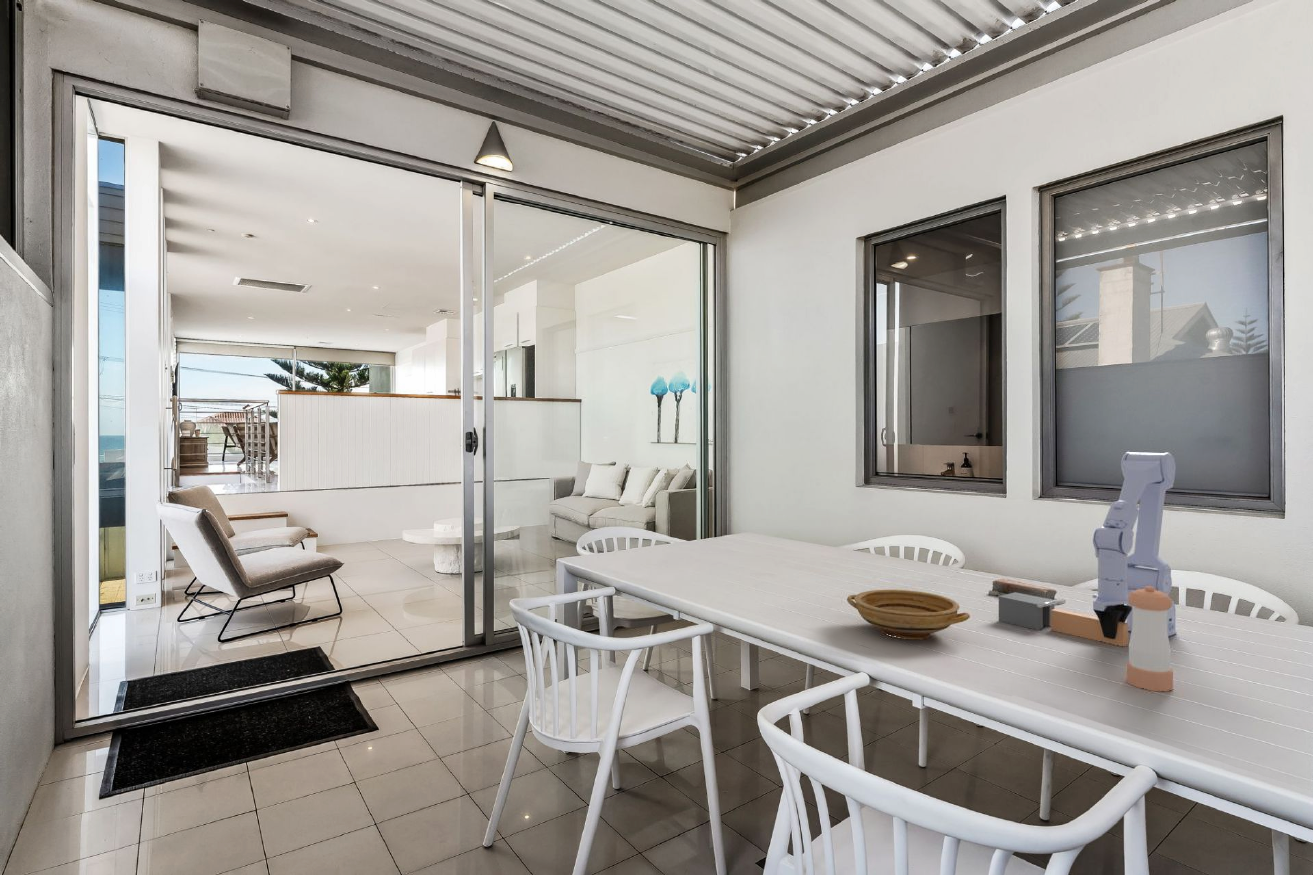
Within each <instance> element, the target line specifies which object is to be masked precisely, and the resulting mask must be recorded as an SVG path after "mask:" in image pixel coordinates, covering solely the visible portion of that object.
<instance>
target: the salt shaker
mask: <svg viewBox="0 0 1313 875" xmlns="http://www.w3.org/2000/svg"><path fill="white" fill-rule="evenodd" d="M1128 601H1129V603H1130V605H1132V606H1133V618H1132V632H1131V631H1130V637H1129V638H1130V639H1129V641H1128V660H1129V661H1128V662H1127V663H1126V682H1127V683H1128V684H1129V685H1131V686H1133V687H1136V688H1139V689H1142V688H1144V689H1143V690H1146V689H1147V691H1153V692H1162V691H1164V692H1170V691H1169V690H1171V691H1172V690H1173V689H1174V670H1173V669H1172V668H1171V662H1172V661H1171V660H1172V651H1171V644H1170V638H1169V636H1168V633H1167V610H1169V609H1170V608H1171V606H1172V604H1173V603H1172V601H1173V600H1172V599H1171V597H1170V596H1169V594H1168V595H1167V594H1165V593H1163V592H1160V591H1156V590H1155V589H1154V587H1151V586H1146V587H1145V589H1138V590H1134V591H1132V592H1131V593H1130V594H1129V595H1128ZM1172 688H1173V689H1172Z"/></svg>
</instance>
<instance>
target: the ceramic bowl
mask: <svg viewBox="0 0 1313 875" xmlns="http://www.w3.org/2000/svg"><path fill="white" fill-rule="evenodd" d="M846 601H847V603H848V604H849V605H850V606H851V607H853V608H854V609H855V610H857V611H858V613H859V615H860V617H861V618H862V619H863V620H864V621H866V622H867V623H868V624H870V625H872V626H874V627H876V628H878V629H880V631H881V630H882V631H881V633H883V632H884V633H885V634H888V635H891V636H896V637H900V638H905V639H904V640H906V639H920V640H925V639H924V638H926V639H928V638H930V636H931V634H934V633H937V632H940V631H943V630H946V629H947V628H949V627H950V626H951V625H955V624H959V623H962V622H966V621H967V620H968V619H970V618H971V615H970V613H968V612H960V613H958V610H960V604H959V602H957V601H955V600H953V599H951V598H948V597H945V596H943V595H938V594H935V593H930V592H924V591H918V590H917V591H916V590H908V589H873V590H867V591H863V592H861V593H860V592H859V593H858V594H850V595H848V597H846ZM884 633H883V634H884ZM885 634H884V635H885ZM888 635H887V636H888ZM927 637H928V638H927Z"/></svg>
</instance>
